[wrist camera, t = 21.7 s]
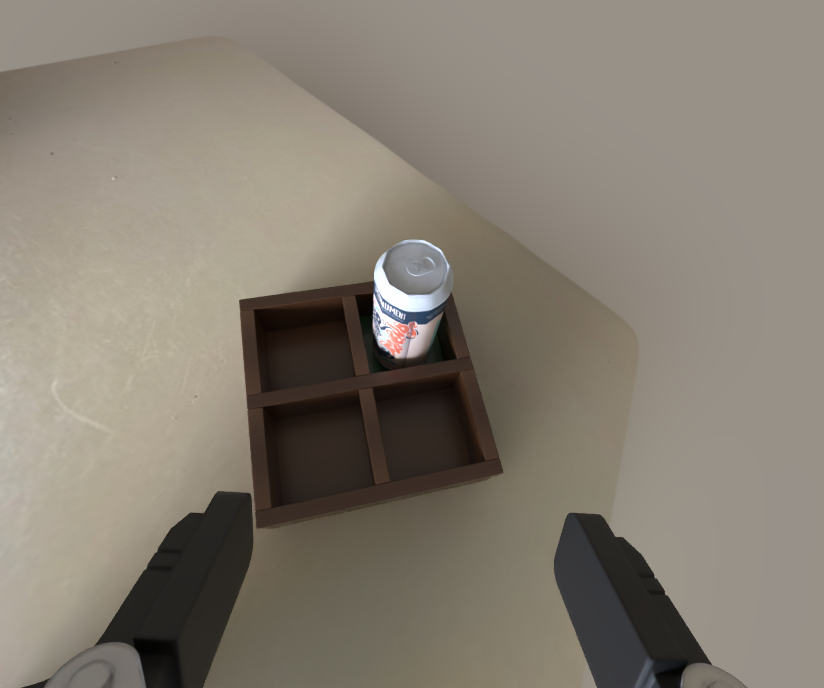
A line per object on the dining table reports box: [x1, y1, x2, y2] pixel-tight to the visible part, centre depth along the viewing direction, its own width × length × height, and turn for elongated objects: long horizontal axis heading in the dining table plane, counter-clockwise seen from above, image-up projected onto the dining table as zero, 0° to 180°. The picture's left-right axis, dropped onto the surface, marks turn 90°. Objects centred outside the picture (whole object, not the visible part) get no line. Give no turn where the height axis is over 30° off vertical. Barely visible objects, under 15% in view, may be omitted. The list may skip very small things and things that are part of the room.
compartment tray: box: [239, 281, 503, 529], centre depth 32 cm, size 16×16×4 cm
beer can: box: [372, 240, 454, 370], centre depth 30 cm, size 5×5×12 cm
